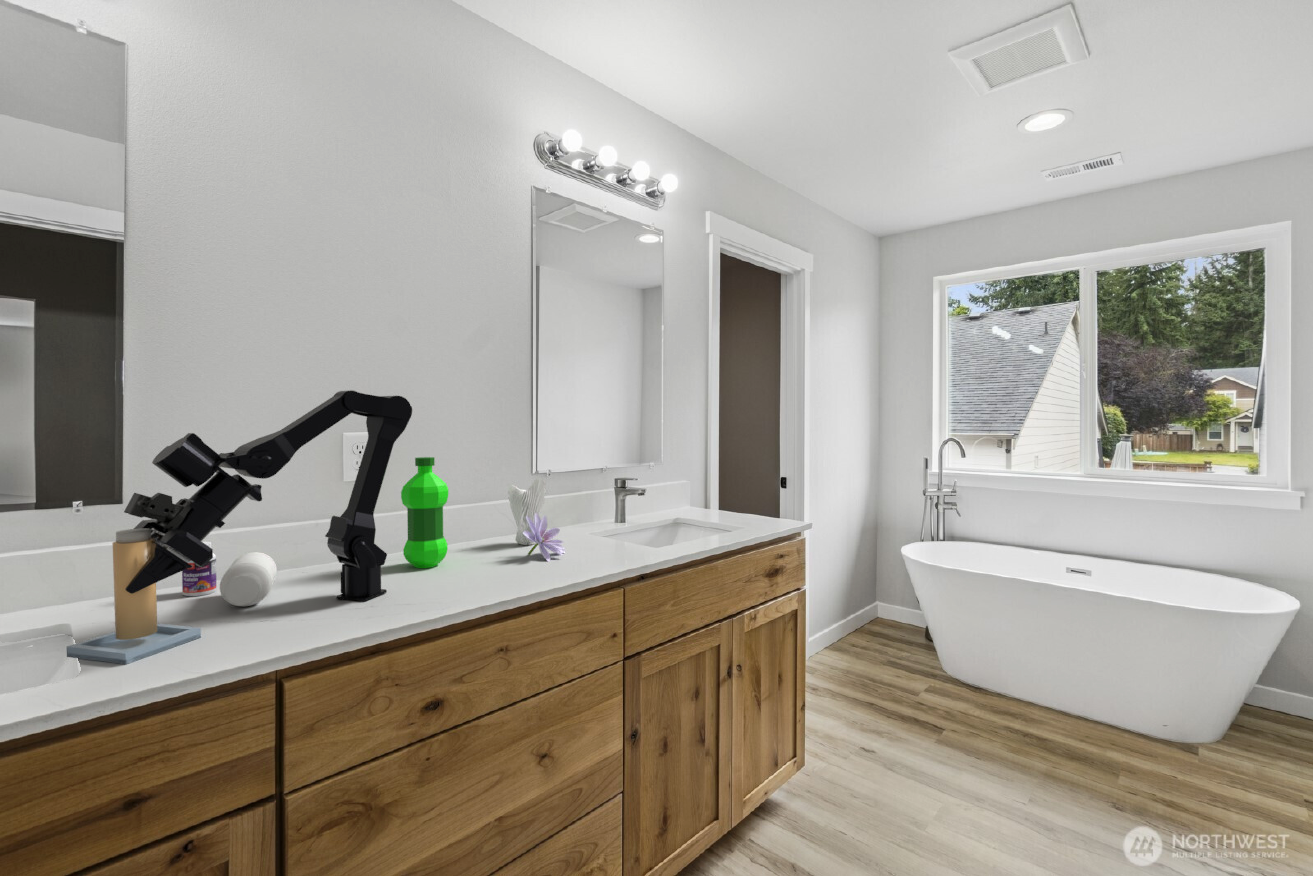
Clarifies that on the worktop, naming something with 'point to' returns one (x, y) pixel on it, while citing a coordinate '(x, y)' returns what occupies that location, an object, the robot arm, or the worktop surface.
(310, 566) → the worktop surface
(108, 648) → the tray
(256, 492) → the robot arm
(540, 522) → the water lily
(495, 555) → the worktop surface
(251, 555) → the pill bottle
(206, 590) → the pill bottle
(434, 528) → the plastic bottle
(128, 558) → the cylinder
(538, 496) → the shell sculpture
